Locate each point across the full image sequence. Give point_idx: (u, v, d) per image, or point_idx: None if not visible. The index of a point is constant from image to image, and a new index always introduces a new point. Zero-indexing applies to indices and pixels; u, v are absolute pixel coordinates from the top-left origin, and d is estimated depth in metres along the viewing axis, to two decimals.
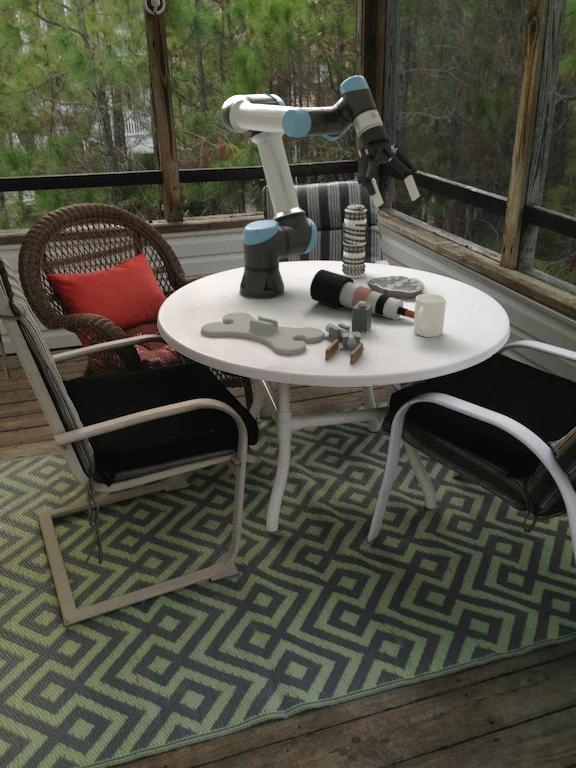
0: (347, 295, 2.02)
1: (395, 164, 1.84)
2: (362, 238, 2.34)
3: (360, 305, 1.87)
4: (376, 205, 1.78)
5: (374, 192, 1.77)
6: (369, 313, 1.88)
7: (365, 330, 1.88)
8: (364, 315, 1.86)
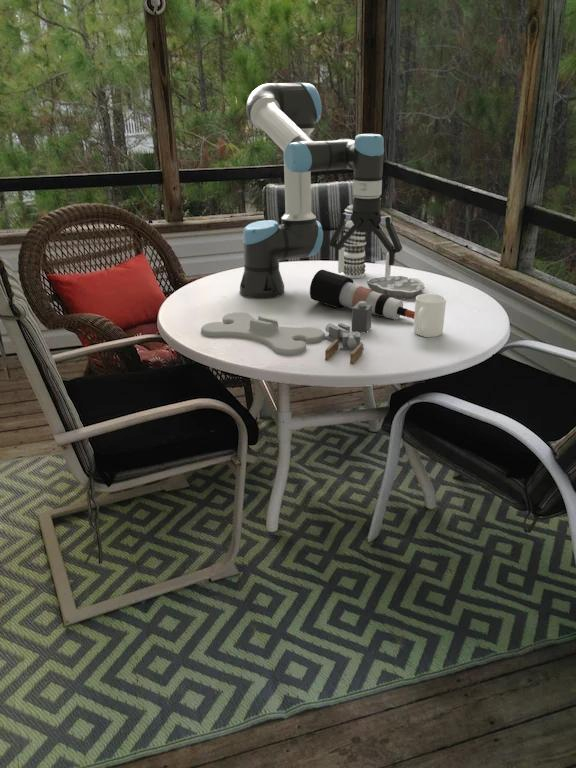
0: (347, 295, 2.02)
1: None
2: (362, 238, 2.34)
3: (360, 305, 1.87)
4: None
5: (338, 259, 1.85)
6: (369, 313, 1.88)
7: (365, 330, 1.88)
8: (364, 315, 1.86)
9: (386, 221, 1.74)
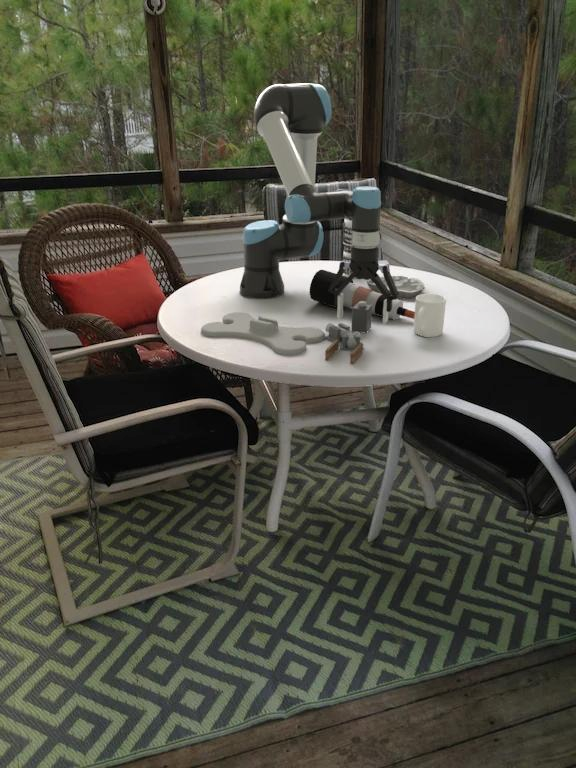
0: (347, 295, 2.02)
1: None
2: None
3: (360, 305, 1.87)
4: None
5: (337, 304, 1.90)
6: (369, 313, 1.88)
7: (365, 330, 1.88)
8: (364, 315, 1.86)
9: (383, 270, 1.80)
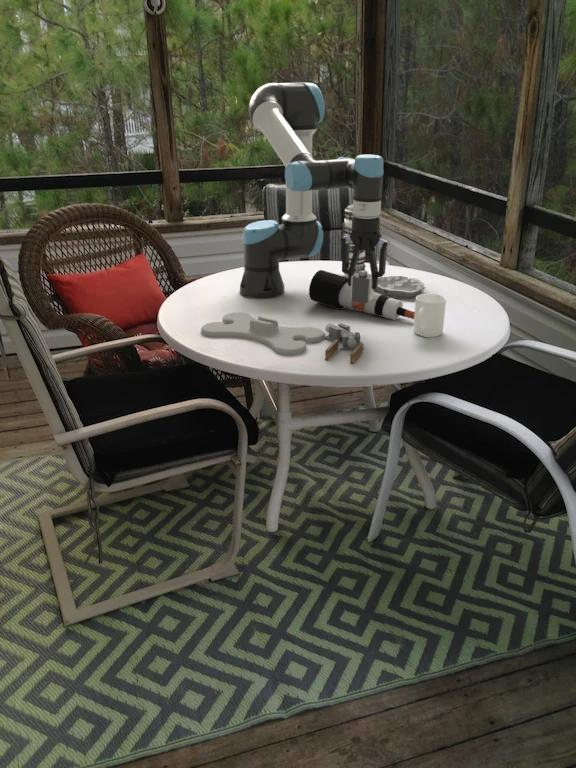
0: (346, 296, 2.02)
1: None
2: None
3: (361, 274, 1.83)
4: None
5: (350, 285, 1.86)
6: None
7: (365, 300, 1.85)
8: (364, 284, 1.83)
9: (383, 245, 1.77)
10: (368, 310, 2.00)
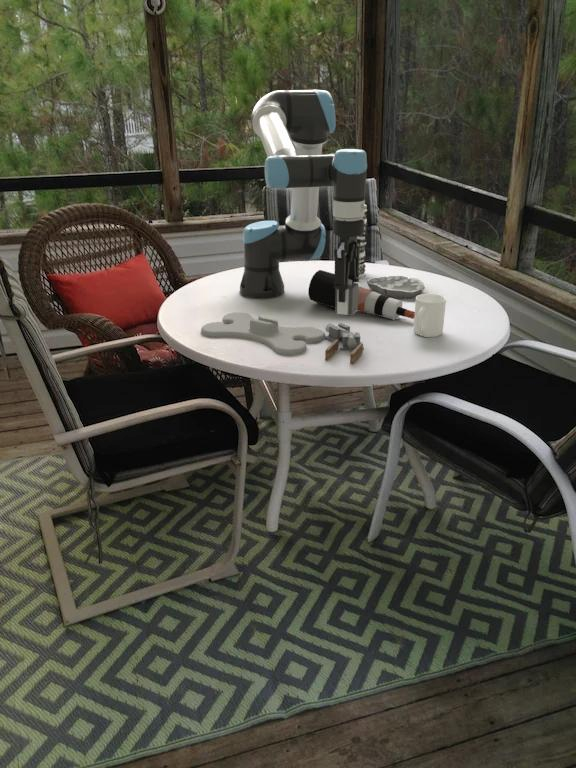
0: None
1: (350, 262, 1.64)
2: (362, 238, 2.34)
3: (351, 283, 1.64)
4: (339, 312, 1.65)
5: (344, 300, 1.63)
6: None
7: (357, 307, 1.68)
8: (357, 291, 1.66)
9: (359, 243, 1.65)
10: (368, 310, 2.00)
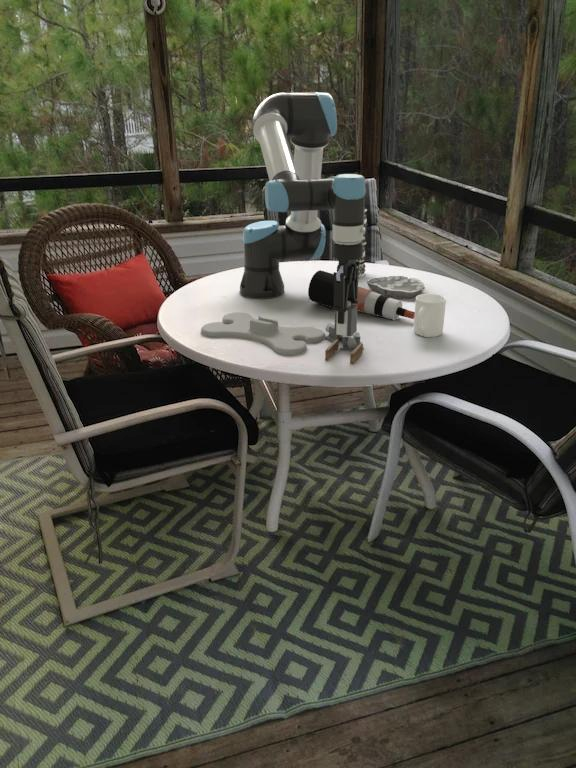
0: None
1: (349, 284, 1.66)
2: None
3: (350, 305, 1.66)
4: (338, 333, 1.67)
5: (343, 322, 1.65)
6: None
7: (356, 328, 1.70)
8: (356, 312, 1.68)
9: (358, 265, 1.67)
10: (368, 310, 2.00)
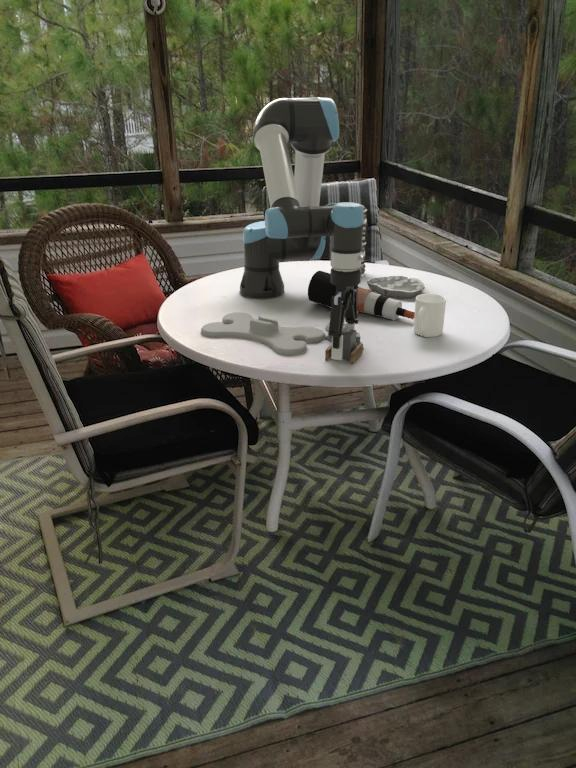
0: None
1: (348, 308, 1.69)
2: (362, 238, 2.34)
3: (349, 330, 1.69)
4: (333, 357, 1.68)
5: (338, 347, 1.66)
6: None
7: None
8: (355, 337, 1.71)
9: (356, 288, 1.70)
10: (367, 310, 1.99)
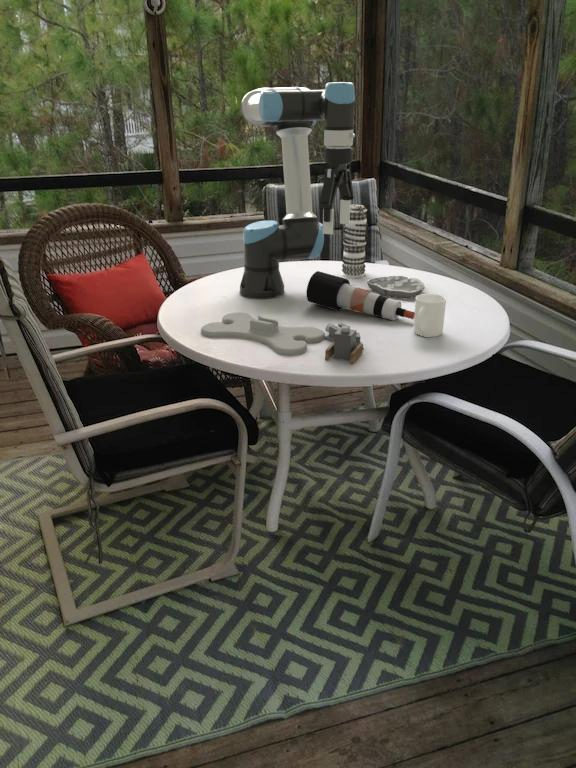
0: (344, 297, 2.01)
1: (343, 186, 1.79)
2: (362, 238, 2.34)
3: (349, 330, 1.69)
4: (325, 232, 1.75)
5: (329, 220, 1.73)
6: None
7: None
8: (355, 337, 1.71)
9: (349, 168, 1.79)
10: (367, 311, 1.99)
